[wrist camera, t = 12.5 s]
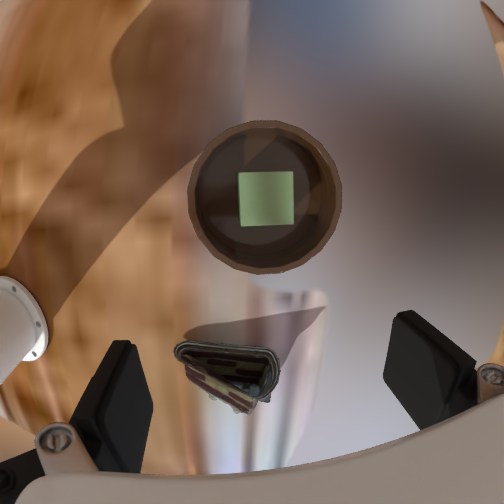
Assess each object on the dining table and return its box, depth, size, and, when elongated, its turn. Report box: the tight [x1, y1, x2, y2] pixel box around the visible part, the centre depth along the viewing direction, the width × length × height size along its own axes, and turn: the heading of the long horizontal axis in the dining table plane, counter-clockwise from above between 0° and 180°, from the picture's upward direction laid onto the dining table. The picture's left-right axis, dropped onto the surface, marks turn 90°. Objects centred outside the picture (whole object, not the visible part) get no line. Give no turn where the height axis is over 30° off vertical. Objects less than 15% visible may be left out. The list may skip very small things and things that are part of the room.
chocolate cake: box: [173, 340, 281, 416], centre depth 33 cm, size 10×7×12 cm
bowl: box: [187, 121, 342, 275], centre depth 27 cm, size 13×13×5 cm
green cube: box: [237, 171, 294, 226], centre depth 27 cm, size 4×4×4 cm
